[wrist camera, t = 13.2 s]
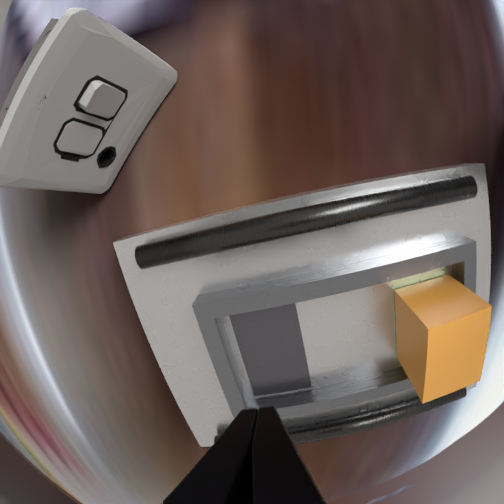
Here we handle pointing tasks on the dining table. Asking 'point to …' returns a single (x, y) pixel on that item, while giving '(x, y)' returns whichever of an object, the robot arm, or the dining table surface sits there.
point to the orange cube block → (441, 335)
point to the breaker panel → (305, 298)
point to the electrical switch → (79, 106)
